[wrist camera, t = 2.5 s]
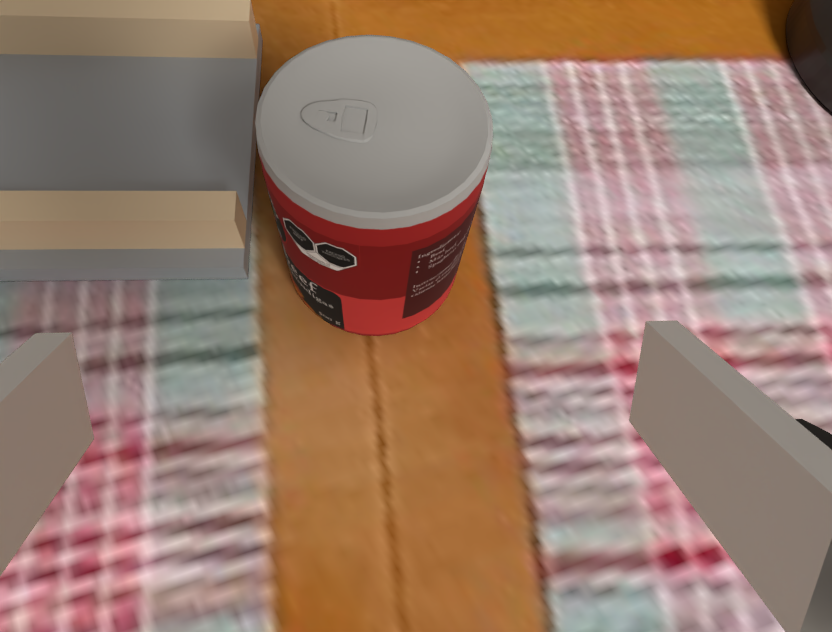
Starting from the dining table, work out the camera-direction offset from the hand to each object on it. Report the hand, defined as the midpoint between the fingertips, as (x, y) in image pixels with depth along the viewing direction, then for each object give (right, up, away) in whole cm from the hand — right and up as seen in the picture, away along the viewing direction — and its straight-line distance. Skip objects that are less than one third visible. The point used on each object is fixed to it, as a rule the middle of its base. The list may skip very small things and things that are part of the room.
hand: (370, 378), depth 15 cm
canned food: (-1, +4, +16) cm, 17 cm away
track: (-16, +10, +18) cm, 26 cm away
